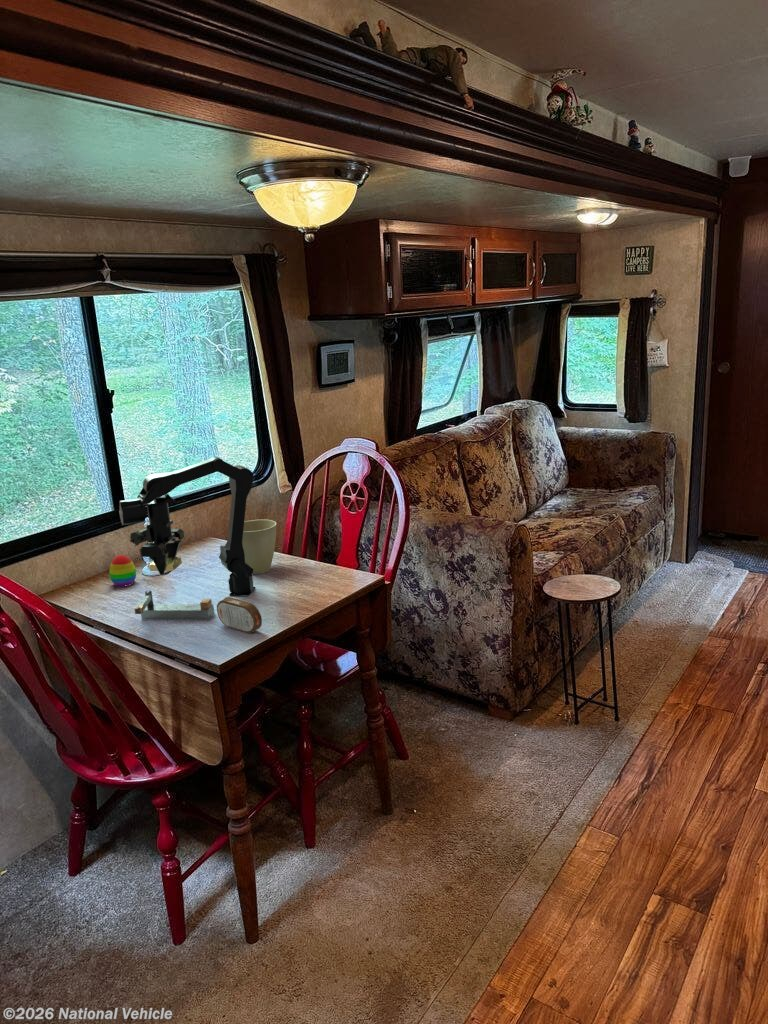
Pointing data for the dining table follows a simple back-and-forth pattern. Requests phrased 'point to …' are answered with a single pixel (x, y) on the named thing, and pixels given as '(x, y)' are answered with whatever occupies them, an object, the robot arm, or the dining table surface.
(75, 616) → the dining table surface
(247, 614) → the tin
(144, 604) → the cam lever
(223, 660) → the dining table surface
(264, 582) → the dining table surface
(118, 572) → the decorative egg
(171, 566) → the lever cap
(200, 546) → the dining table surface
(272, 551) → the plant pot
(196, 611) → the plane body
